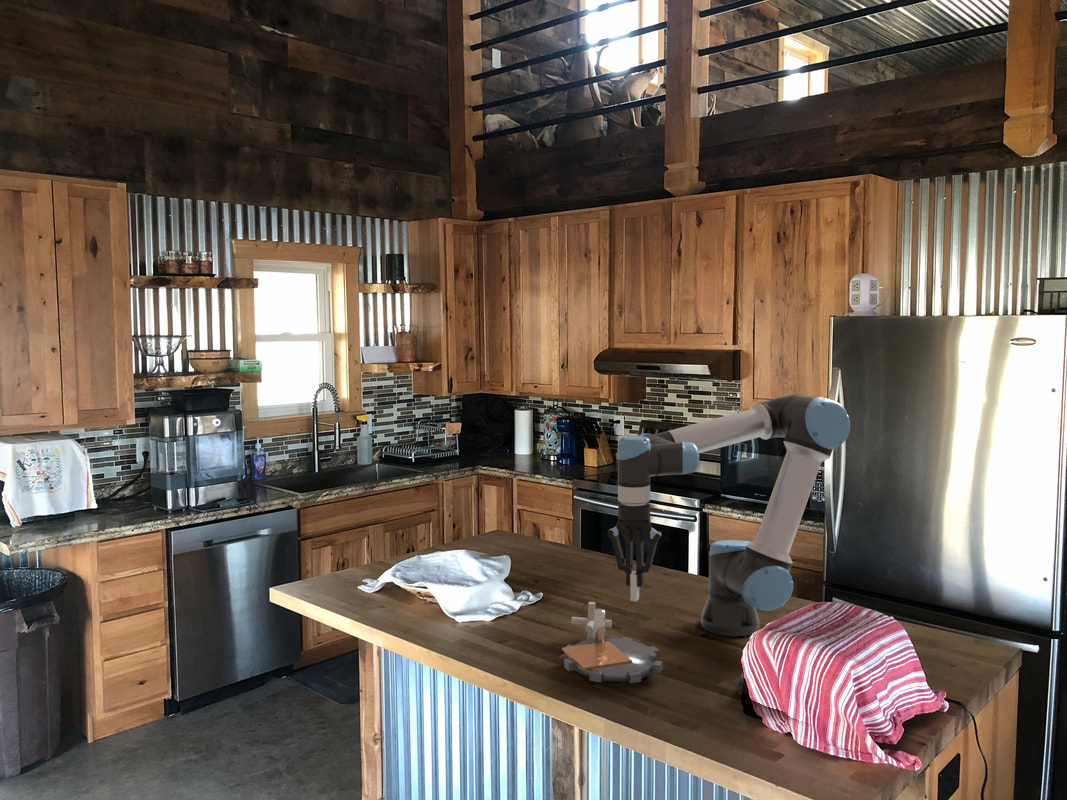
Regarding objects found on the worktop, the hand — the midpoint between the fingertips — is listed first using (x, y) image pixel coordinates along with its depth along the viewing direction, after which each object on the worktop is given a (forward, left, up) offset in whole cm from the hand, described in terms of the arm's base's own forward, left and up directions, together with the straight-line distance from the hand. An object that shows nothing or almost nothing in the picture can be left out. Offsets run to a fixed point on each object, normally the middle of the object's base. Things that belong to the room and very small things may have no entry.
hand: (634, 599), depth 203 cm
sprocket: (+3, +10, -12) cm, 16 cm away
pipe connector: (+13, -6, -15) cm, 20 cm away
